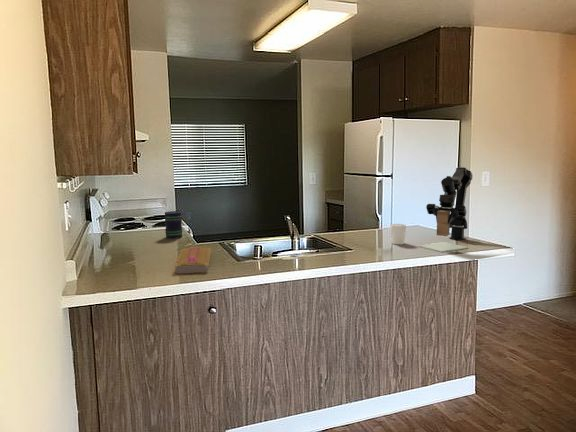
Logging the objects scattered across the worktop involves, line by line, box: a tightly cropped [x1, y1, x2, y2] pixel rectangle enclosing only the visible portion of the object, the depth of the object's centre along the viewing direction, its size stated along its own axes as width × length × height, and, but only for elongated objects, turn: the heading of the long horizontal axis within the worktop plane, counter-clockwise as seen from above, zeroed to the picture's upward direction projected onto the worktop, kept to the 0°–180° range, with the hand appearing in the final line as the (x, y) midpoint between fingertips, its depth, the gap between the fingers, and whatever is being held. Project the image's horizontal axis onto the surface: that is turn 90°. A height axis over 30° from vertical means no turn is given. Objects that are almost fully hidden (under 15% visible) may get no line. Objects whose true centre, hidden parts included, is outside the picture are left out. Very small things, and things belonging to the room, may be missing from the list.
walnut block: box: [436, 210, 451, 237], centre depth 232 cm, size 5×5×12 cm
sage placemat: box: [418, 241, 469, 253], centre depth 238 cm, size 18×16×1 cm
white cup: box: [390, 223, 407, 245], centre depth 249 cm, size 8×8×10 cm
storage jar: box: [164, 210, 184, 240], centre depth 275 cm, size 10×10×15 cm
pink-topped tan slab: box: [173, 246, 212, 274], centre depth 211 cm, size 35×14×6 cm, turn 7°
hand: (442, 223), depth 231 cm, fingers closed on walnut block, 5 cm apart
